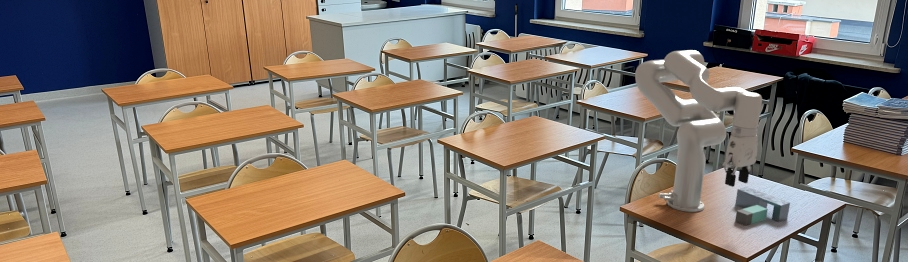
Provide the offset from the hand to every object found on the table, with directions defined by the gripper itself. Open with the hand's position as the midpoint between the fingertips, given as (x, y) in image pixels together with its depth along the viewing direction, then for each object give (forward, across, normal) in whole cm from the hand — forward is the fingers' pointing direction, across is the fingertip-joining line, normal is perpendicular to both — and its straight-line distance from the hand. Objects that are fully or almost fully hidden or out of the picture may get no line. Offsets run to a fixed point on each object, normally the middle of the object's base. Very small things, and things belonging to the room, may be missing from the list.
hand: (736, 183), depth 212 cm
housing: (+16, +21, +3) cm, 26 cm away
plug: (+16, +11, 0) cm, 19 cm away
